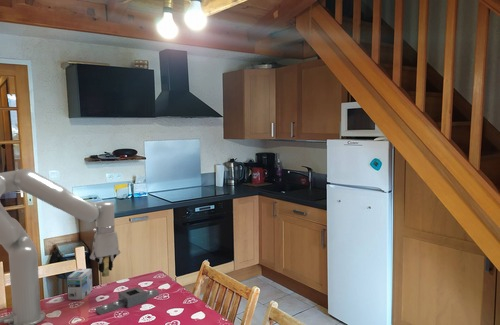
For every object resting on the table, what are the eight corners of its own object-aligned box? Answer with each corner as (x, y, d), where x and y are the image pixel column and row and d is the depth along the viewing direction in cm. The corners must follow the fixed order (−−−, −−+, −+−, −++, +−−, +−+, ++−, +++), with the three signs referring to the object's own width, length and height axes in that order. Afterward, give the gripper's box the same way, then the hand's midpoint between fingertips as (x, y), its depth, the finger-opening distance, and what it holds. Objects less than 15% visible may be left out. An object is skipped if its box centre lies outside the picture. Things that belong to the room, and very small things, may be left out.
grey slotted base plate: (102, 316, 151) (101, 307, 151) (93, 309, 157) (93, 300, 157) (161, 296, 169) (161, 287, 169) (151, 290, 176) (151, 282, 176)
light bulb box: (82, 300, 167) (81, 276, 166) (67, 300, 167) (66, 276, 167) (93, 290, 178) (92, 268, 177) (79, 290, 178) (78, 268, 177)
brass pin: (103, 277, 163) (103, 254, 162) (100, 275, 165) (100, 252, 165) (110, 275, 165) (110, 253, 165) (107, 273, 167) (107, 251, 167)
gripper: (89, 234, 156) (89, 277, 157) (127, 228, 167) (126, 268, 168) (83, 230, 161) (83, 272, 162) (119, 225, 172) (119, 264, 173)
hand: (105, 270), depth 165 cm, fingers closed on brass pin, 3 cm apart
